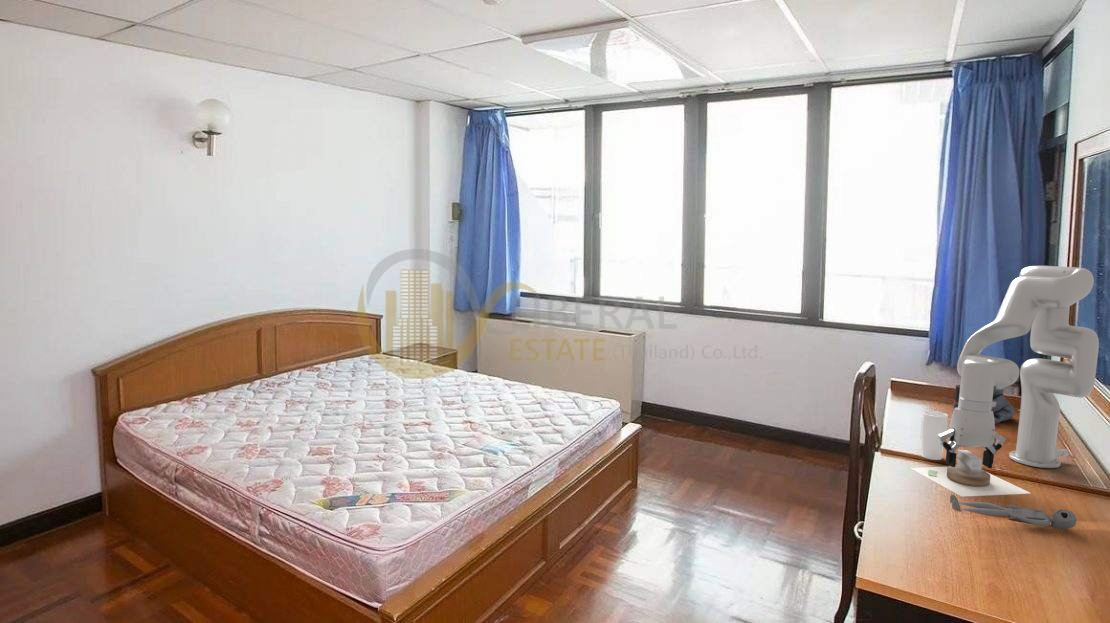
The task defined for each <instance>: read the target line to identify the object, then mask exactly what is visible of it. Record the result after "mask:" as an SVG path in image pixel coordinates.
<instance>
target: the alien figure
mask: <svg viewBox="0 0 1110 623" xmlns="http://www.w3.org/2000/svg"><path fill="white" fill-rule="evenodd" d="M950 503H952V504H951V508H952V509H954V510H961V511H967V512H971V513H975V514H982V515H988V516H995V517H1009V518H1008V520H1010V521H1012V522H1016V523H1022V524H1027V525H1034V526H1039V527H1047V526H1050V528H1053V529H1057V530H1058V529H1059V530H1067V529H1071V528H1074V527H1076V525H1077V517H1076V514H1075V513H1073V511H1071V510H1069V509H1057V510H1055V511H1054V512H1053V514H1052V516H1049V515H1048V513H1046V512H1045V511H1043V510H1042V509H1036V508H1026V507H1025V508H1024V507H1022V506H1018V505H1004V506H1002V505H998V504H994V503H991V502H990V503H989V502H983V501H959V500H958V498H957V497H956V495H955V494H951V495H950ZM961 505H963V506H968V507H962V508H961Z"/></svg>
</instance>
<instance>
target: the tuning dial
mask: <svg viewBox="0 0 1110 623" xmlns="http://www.w3.org/2000/svg"><path fill="white" fill-rule="evenodd" d="M957 450H958V451H957V457H956V465H955V467H951V466H950V465H948V466H949V467H948V466H946V467H947V477H948V478H949V479H951V480H953V481H955V482H958V483H961V484H965V485H971V486H987V485H989V484H990V474H991V473H990V474H989V472H988V471H986V470H984V469H983V464H982V462H983V458H982V457H980V456H978V455H976V454H974V453H973V452H972V451H970V450H968V449H967V450H966V449H965V450H964V449H957ZM987 472H988V473H987Z"/></svg>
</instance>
